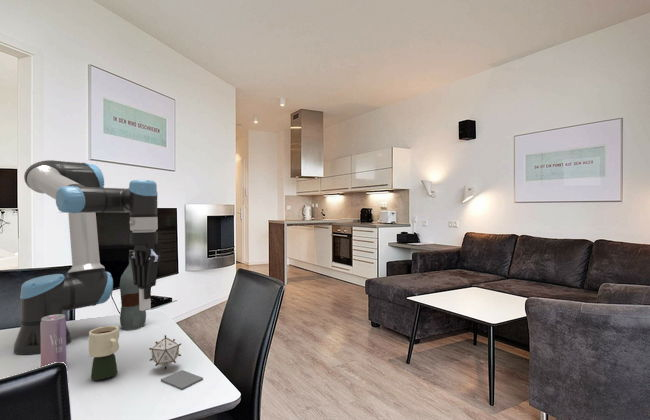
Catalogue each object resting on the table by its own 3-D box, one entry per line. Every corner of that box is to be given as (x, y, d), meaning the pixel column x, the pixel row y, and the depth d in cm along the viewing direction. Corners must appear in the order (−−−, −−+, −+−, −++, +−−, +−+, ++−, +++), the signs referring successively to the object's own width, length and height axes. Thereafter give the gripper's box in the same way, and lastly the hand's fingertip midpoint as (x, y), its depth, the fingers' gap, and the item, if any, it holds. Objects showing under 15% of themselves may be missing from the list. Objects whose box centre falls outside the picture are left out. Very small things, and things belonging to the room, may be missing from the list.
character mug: (128, 376, 100) (128, 329, 100) (102, 387, 94) (101, 337, 94) (106, 367, 106) (106, 323, 106) (80, 377, 99) (79, 330, 99)
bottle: (124, 323, 146) (124, 249, 146) (149, 322, 148) (148, 248, 147) (115, 331, 137) (115, 252, 136) (142, 330, 138) (141, 251, 138)
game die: (169, 377, 99) (168, 341, 99) (141, 375, 101) (141, 339, 101) (187, 364, 108) (187, 330, 108) (162, 361, 110) (162, 328, 110)
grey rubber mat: (160, 381, 97) (160, 379, 97) (182, 372, 103) (182, 369, 103) (181, 390, 92) (181, 388, 92) (203, 380, 98) (203, 377, 98)
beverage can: (62, 362, 109) (62, 312, 109) (69, 367, 106) (68, 316, 105) (38, 369, 105) (37, 317, 105) (44, 375, 101) (43, 321, 101)
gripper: (119, 231, 110) (120, 309, 110) (144, 232, 103) (145, 315, 103) (143, 230, 116) (144, 304, 116) (168, 231, 109) (169, 309, 109)
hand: (145, 309), depth 110 cm, fingers closed
